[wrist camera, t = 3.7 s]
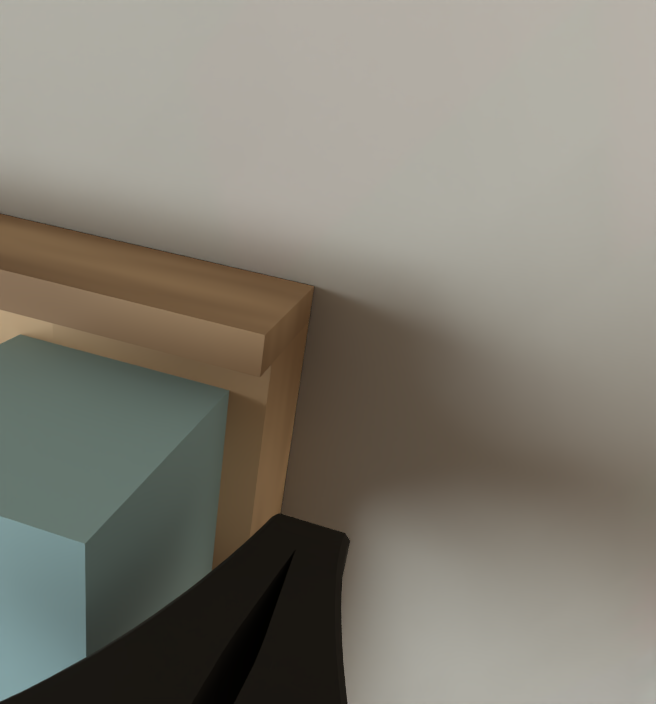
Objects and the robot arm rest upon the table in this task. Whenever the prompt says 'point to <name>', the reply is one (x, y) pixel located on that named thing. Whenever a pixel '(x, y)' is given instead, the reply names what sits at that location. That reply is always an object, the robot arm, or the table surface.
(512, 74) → the table surface
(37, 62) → the table surface
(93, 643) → the teal block
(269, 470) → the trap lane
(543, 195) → the table surface
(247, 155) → the table surface
